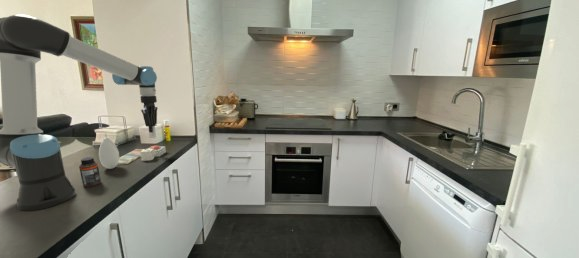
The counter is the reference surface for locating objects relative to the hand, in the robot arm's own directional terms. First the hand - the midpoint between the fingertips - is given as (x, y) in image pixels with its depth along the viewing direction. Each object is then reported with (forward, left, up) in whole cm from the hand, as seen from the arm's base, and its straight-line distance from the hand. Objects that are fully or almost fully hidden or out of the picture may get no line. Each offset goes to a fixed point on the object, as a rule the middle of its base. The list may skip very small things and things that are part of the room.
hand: (152, 137), depth 138 cm
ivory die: (-8, 0, -10) cm, 13 cm away
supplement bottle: (-39, +7, -10) cm, 41 cm away
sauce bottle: (-21, +11, -10) cm, 25 cm away
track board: (-4, +11, -10) cm, 15 cm away
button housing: (0, 0, -10) cm, 10 cm away
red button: (0, 0, -9) cm, 9 cm away
